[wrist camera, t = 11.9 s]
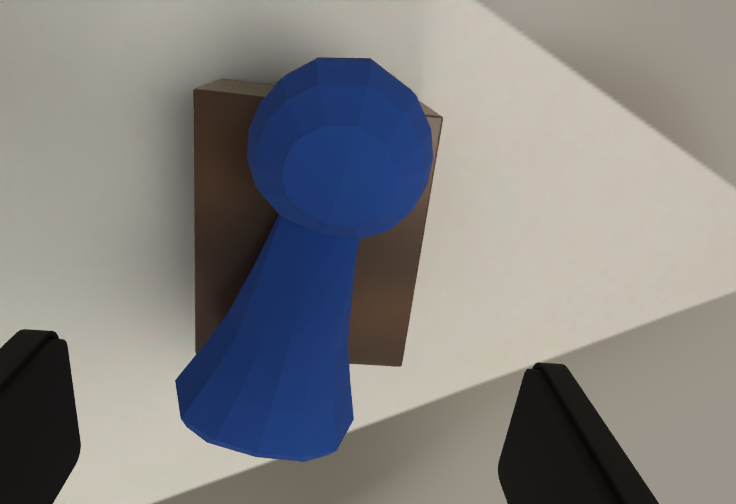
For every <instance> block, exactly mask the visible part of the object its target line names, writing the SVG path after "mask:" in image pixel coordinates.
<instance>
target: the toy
mask: <svg viewBox="0 0 736 504" xmlns="http://www.w3.org/2000/svg"><path fill="white" fill-rule="evenodd" d="M247 161H248V164H249V167H250V170H251V174H252V177H253V180H254V183H255V187H256V188H257V189H258V191H259V192H260V193H261V194H262V195H263V196H264V197H265V199H266V200H267V201H268V202H269V203H270V204H271V205H272V207H273V208H274V209H275V210H276V211H277V212H278V213H279V216H278V218H277V220H276V222H275V224H274V226H273V228H272V230H271V232H270V234H269V236H268V238H267V241H266V243H265V245H264V247H263V249H262V251H261V253H260V255H259V257H258V259H257V261H256V263H255V265H254V267H253V269H252V270H251V272H250V274H249V276H248V278H247V279H246V281H245V283H244V285H243V287H242V289H241V290H240V292H239V294H238V296H237V298H236V299H235V301H234V303H233V305H232V307H231V309H230V310H229V312H228V314H227V315H226V316H225V318H224V319H223V320H222V322H221V323H220V324H219V326H218V327H217V328H216V330H215V331H214V332H213V334H212V335H211V336H210V338H209V339H208V340H207V342H206V343H205V345H204V346H203V347H202V348H201V350H200V351H199V352H198V353H197V354H196V356H195V357H194V358H193V359H192V361H191V362H190V363H189V364H188V365H187V367H186V368H185V369H184V370H183V372H182V373H181V374H180V375H179V376H178V378H177V379H176V380H175V382H176V389H177V395H178V402H179V409H180V416H181V419H182V421H183V422H184V424H185V425H186V427H188V428H189V429H190V430H191V431H193V432H194V433H195V434H197V435H198V436H199V437H201V438H202V439H203V440H205V441H206V442H207V443H211V444H214V445H218V446H221V447H224V448H228V449H231V450H234V451H238V452H241V453H245V454H248V455H251V456H255V457H262V458H272V459H282V460H292V461H301V462H305V461H308V460H312V459H316V458H319V457H323V456H326V455H328V454H331V453H333V452H335V451H337V449H338V447H339V445H340V443H341V441H342V439H343V438H344V436H345V434H346V432H347V431H348V429H349V427H350V425H351V423H352V421H353V420H354V418H353V407H352V396H351V386H350V371H349V353H348V335H349V325H350V314H351V303H352V293H353V283H354V274H355V264H356V255H357V249H358V245H359V240H360V239H362V238H365V237H369V236H373V235H376V234H380V233H384V232H388V231H389V230H390V229H392V228H393V227H394V226H395V225H396V224H398V223H399V222H400V221H401V220H402V219H404V218H405V217H406V216H407V215H408V214H409V213H410V212H411V211H412V210H413V209H414V208H415V206H416V204H417V203H418V201H419V199H420V197H421V196H422V194H423V192H424V190H425V189H426V187H427V185H428V181H429V176H430V171H431V167H432V162H433V147H432V134H431V127H430V125H429V123H428V121H427V118H426V116H425V114H424V112H423V110H422V107H421V105H420V103H419V101H418V98H417V96H416V95H415V93H414V92H413V91H412V90H411V89H409V88H408V87H407V86H405V85H404V84H403V83H402V82H400V81H399V80H398V79H396V78H395V77H394V76H392V75H391V74H390V73H389V72H387V71H386V70H385V69H383V68H382V67H381V66H380V65H378V64H377V63H376V62H374V61H373V60H372V59H370V58H316V59H315V60H313V61H311V62H309V63H307V64H305V65H303V66H302V67H300V68H298V69H296V70H294V71H292V72H291V73H289V74H287V75H285V76H284V77H283V78H282V79H281V80H280V81H279V82H278V83H277V84H276V85H275V86H274V88H273V89H272V90H271V91H270V92H269V93H268V94H267V95H266V97H265V98H264V99H263V100H262V101H261V102H260V105H259V107H258V109H257V112H256V114H255V116H254V119H253V121H252V123H251V126H250V128H249V136H248V148H247Z"/></svg>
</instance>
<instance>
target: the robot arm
mask: <svg viewBox="0 0 736 504" xmlns="http://www.w3.org/2000/svg"><path fill="white" fill-rule="evenodd" d="M80 448H81V443H80V435H79V428H78V420H77V413H76V405H75V398H74V390H73V383H72V375H71V368H70V361H69V353H68V346H67V343H66V341H65V340H63V339H59V337H58V335H57V333H56V332H54V331H42V330H27V329H23V330H20V331H18V332H17V333H16V334H15V335H14V336H13V337H12V338H11V339H10V340H9V341H7V342H6V343H5V344H4V345H3V346H2V347H1V348H0V504H53V502H54V501H55V499H56V497H57V495H58V494H59V492H60V490H61V489H62V487H63V485H64V484H65V482H66V480H67V478H68V477H69V475H70V473H71V472H72V470H73V468H74V466H75V465H76V463H77V461H78V458H79V454H80ZM498 475H499V480H500V483H501V486H502V489H503V492H504V494H505V497H506V500H507V503H508V504H659V503H658V501H657V500H656V499H655V497H654V496H653V494H652V492H651V491H650V490H649V488H648V487H647V485H646V484H645V482H644V481H643V479H642V478H641V476H640V475H639V473H638V472H637V470H636V469H635V467H634V466H633V464H632V463H631V461H630V460H629V458H628V457H627V455H626V454H625V453H624V451H623V449H622V448H621V447H620V445H619V444H618V442H617V441H616V439H615V438H614V436H613V435H612V433H611V432H610V430H609V429H608V427H607V426H606V424H605V423H604V421H603V420H602V418H601V417H600V416H599V414H598V412H597V411H596V410H595V408H594V406H593V405H592V404H591V402H590V401H589V399H588V398H587V396H586V395H585V393H584V392H583V390H582V389H581V387H580V386H579V384H578V383H577V381H576V380H575V378H574V377H573V375H572V374H571V372H570V371H569V370H568V368H567V367H566V366H565V365H563V364H553V363H536V364H535V365H534V366H533V368H532V369H527V370H526V371H525V373H524V377H523V380H522V384H521V387H520V390H519V394H518V397H517V401H516V404H515V408H514V411H513V414H512V418H511V421H510V425H509V429H508V432H507V435H506V439H505V442H504V446H503V449H502V453H501V456H500V460H499V464H498Z"/></svg>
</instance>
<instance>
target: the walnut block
mask: <svg viewBox="0 0 736 504" xmlns="http://www.w3.org/2000/svg"><path fill="white" fill-rule="evenodd" d="M274 86H275V85H273V84H264V83H255V82H247V81H238V80H229V79H220V80H217V81H214V82H212V83H209V84H206V85H204V86H201V87H198V88H195V89H194V91H193V108H194V235H195V352H196V354H197V353H198V352H199V351H200V350H201V348H202V347H203V346H204V345H205V343H206V342H207V340H208V339H209V338H210V336H211V335H212V334H213V332H214V331H215V330H216V328H217V327H218V326H219V324H220V323H221V322H222V320H223V319H224V318H225V316H226V315H227V314H228V312H229V310H230V309H231V307H232V305H233V303H234V301H235V299H236V298H237V296H238V294H239V292H240V290H241V289H242V287H243V285H244V283H245V281H246V279H247V278H248V276H249V274H250V272H251V270H252V269H253V267H254V265H255V263H256V261H257V259H258V257H259V255H260V253H261V251H262V249H263V247H264V245H265V243H266V241H267V238H268V236H269V234H270V232H271V230H272V228H273V226H274V224H275V222H276V220H277V218H278V216H279V213H278V212H277V211H276V210H275V209H274V208H273V207H272V205H271V204H270V203H269V202H268V201H267V200H266V199H265V197H264V196H263V195H262V194H261V193H260V192H259V191H258V189H257V188H256V187H255V183H254V180H253V177H252V174H251V170H250V167H249V164H248V161H247V148H248V136H249V128H250V126H251V123H252V121H253V119H254V116H255V114H256V112H257V109H258V107H259V105H260V102H261V101H262V100H263V99H264V98H265V97H266V95H267V94H268V93H269V92H270V91H271V90H272V89H273V88H274ZM419 103H420V105H421V107H422V110H423V112H424V114H425V116H426V118H427V121H428V123H429V125H430V127H431V134H432V147H433V162H432V167H431V171H430V176H429V181H428V185H427V187H426V189H425V190H424V192H423V194H422V196H421V197H420V199H419V201H418V203H417V204H416V206H415V208H414V209H413V210H412V211H411V212H410V213H409V214H408V215H407V216H406V217H405V218H404V219H402V220H401V221H400V222H399V223H398V224H396V225H395V226H394V227H393V228H392V229H390V230H389V231H388V232H384V233H380V234H376V235H373V236H369V237H365V238H362V239H360V240H359V245H358V249H357V255H356V264H355V274H354V283H353V293H352V303H351V314H350V325H349V335H348V353H349V364H365V365H382V366H399V367H400V366H401V365H402V361H403V355H404V349H405V343H406V337H407V331H408V325H409V319H410V313H411V307H412V301H413V295H414V289H415V283H416V277H417V271H418V265H419V259H420V253H421V247H422V241H423V235H424V229H425V223H426V217H427V211H428V205H429V199H430V193H431V187H432V181H433V175H434V169H435V163H436V157H437V151H438V145H439V139H440V133H441V127H442V121H443V117H442V116H440V115H439V114H437V113H436V112H435V111H433V110H432V109H430V108H429V107H427V106H426V105H424V104H423V103H422V102H420V101H419Z"/></svg>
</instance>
